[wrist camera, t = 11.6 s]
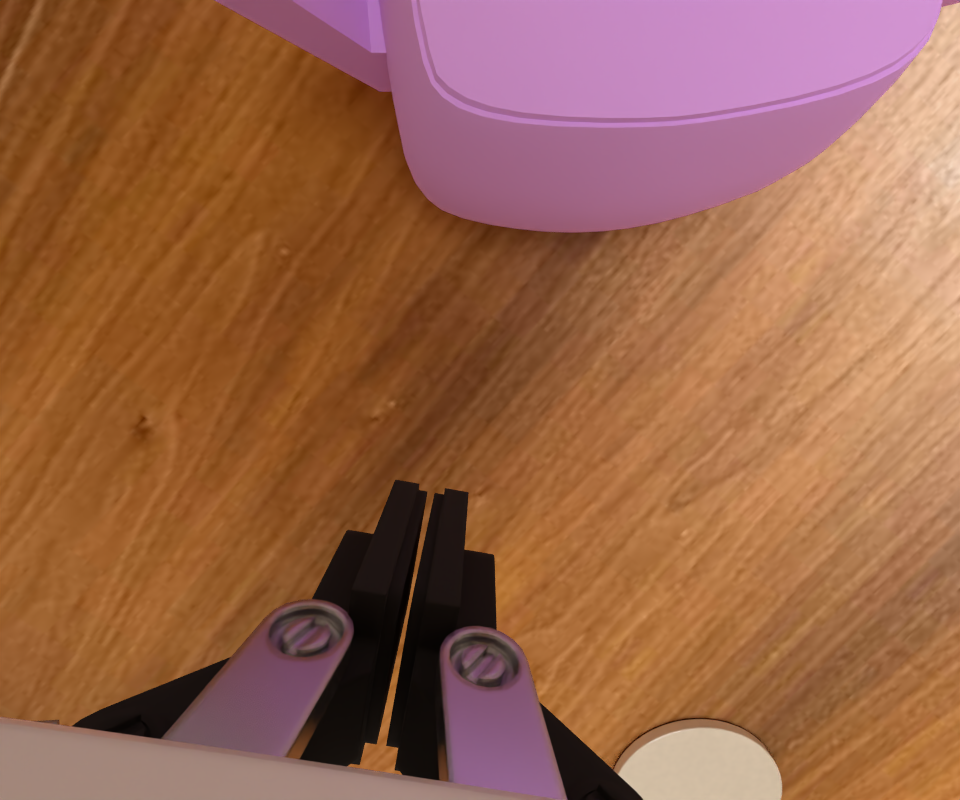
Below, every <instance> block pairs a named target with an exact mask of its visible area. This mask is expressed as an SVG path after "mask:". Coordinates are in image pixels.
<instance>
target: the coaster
mask: <svg viewBox="0 0 960 800" xmlns="http://www.w3.org/2000/svg"><path fill="white" fill-rule="evenodd" d="M614 771H615V772H616V773H617V774H618V775H619V776H620V777H621V778H622V779H623V780H624V781H626V782H627V783H628V784H629V785H630V786H631V787H632V788H633V789H634V790H635V791H636V792H637V793H638V794H639V795H640V796H641V797H642V798H643V800H781V796H782V781H781V775H780V772H779V769H778V767H777V765H776V763H775V761H774V759H773V758H772V756H771V754H770V752H769V751H768V750H767V748H766V747H765V746H764V745H763V743H762V742H760V741H759V740H758V739H757V738H756V737H755V736H753V735H752V734H750V733H749V732H748V731H746V730H744V729H742V728H740V727H738V726H735V725H732V724H730V723H726V722H722V721H718V720H710V719H690V720H681V721H677V722H672V723H669V724H666V725H662V726H660V727H658V728H655V729H653V730H651V731H649V732H648V733H646V734H644V735H642V736H641V737H640V738H638V739H637V740H636V741H634V742H633V743H632V744H631V745H630V746H629V747H628V748H627V749H626V750H625V751H624V753H623V754H622V755H621V756H620V758H619V760H618V761H617V763H616V765H615V768H614Z"/></svg>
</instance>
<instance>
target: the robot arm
mask: <svg viewBox="0 0 960 800" xmlns="http://www.w3.org/2000/svg"><path fill="white" fill-rule="evenodd" d="M426 497H427V492H426V491H420V490H419V484H417V483H411V482H406V481H400V480H395V482H394V485H393V487H392V490H391V492H390V495H389V497H388V500H387V502H386V505H385V507H384V510H383V512H382V515H381V517H380V520H379V522H378V525H377V527H376V530H375V532H374V534H369V533H363V532H357V531H352V530H347V531H346V533H345V535H344V537H343V539H342V541H341V543H340V545H339V547H338V549H337V551H336V553H335V555H334V556H333V558H332V560H331V562H330V564H329V566H328V568H327V570H326V572H325V574H324V576H323V578H322V580H321V582H320V584H319V586H318V588H317V590H316V592H315V594H314V596H313V598H312V599H307V600H298V601H294V602H290V603H286V604H284V605H282V606H280V607H278V608H276V609H274V610H273V611H272V612H271V613H270V614H269V615H268V616H266V617H265V618H264V619H263V621H262V622H261V623H260V624H259V625H258V626H257V628H256V629H255V630H254V631H253V632H252V633H251V635H250V636H249V637H248V638H247V639H246V640H245V642H244V643H243V644H242V645H241V646H240V647H239V649H238V650H237V651H236V652H235V653H234V654H233V656H232V657H230V658H227V659H225V660H222V661H220V662H217V663H215V664H213V665H210V666H208V667H205V668H203V669H200V670H198V671H195V672H193V673H190V674H188V675H185V676H183V677H180V678H178V679H175V680H173V681H170V682H168V683H165V684H163V685H160V686H158V687H156V688H153V689H151V690H148V691H146V692H143V693H141V694H138V695H136V696H133V697H131V698H128V699H126V700H123V701H121V702H118V703H116V704H113V705H111V706H108V707H106V708H104V709H101V710H99V711H97V712H95V713H93V714H91V715H89V716H87V717H85V718H83V719H81V720H80V721H78V722H77V723H76V724H74V725H73V726H64V725H59V720H47V721H28V720H20V719H13V718H4V717H0V800H643V798H642V797H641V796H640V795H639V794H638V793H637V792H636V791H635V790H634V789H633V788H632V787H631V786H630V785H629V784H628V783H627V782H626V781H624V780H623V779H622V778H621V777H620V776H619V775H618V774H617V773H616V772H615V771H614V770H613V769H611V768H610V767H609V766H608V765H607V764H606V763H605V762H604V761H603V760H602V759H601V758H600V757H598V756H597V755H596V754H595V753H594V752H593V751H592V750H591V749H590V748H589V747H588V746H587V745H585V744H584V743H583V742H582V741H581V740H580V739H579V738H578V737H577V736H576V735H575V734H574V733H572V732H571V731H570V730H569V729H568V728H567V727H566V726H565V725H564V724H563V723H562V722H561V721H559V720H558V719H557V718H556V717H555V716H554V715H553V714H552V713H551V712H550V711H549V710H548V709H546V708H545V707H544V706H543V705H542V704H541V703H540V702H539V699H538V695H537V692H536V689H535V685H534V682H533V678H532V675H531V671H530V668H529V664H528V661H527V658H526V656H525V654H524V652H523V650H522V649H521V648H520V646H519V645H518V644H517V643H516V642H515V641H514V640H513V639H511V638H510V637H508V636H507V635H505V634H504V633H502V632H500V631H497V630H496V595H495V561H494V555H493V554H487V553H481V552H475V551H469V550H464V546H465V533H466V519H467V505H468V492H463V491H457V490H452V489H446V488H445V492H444V495H443V494H438V493H435V494H434V499H433V504H432V508H431V513H430V518H429V522H428V527H427V532H426V536H425V541H424V546H423V550H422V555H421V560H420V564H419V569H418V574H417V578H416V583H415V588H414V593H413V598H412V603H411V608H410V613H409V619H408V625H407V630H406V636H405V642H404V648H403V653H402V659H401V665H400V670H399V676H398V682H397V688H396V693H395V699H394V705H393V710H392V716H391V722H390V728H389V733H388V739H387V745H386V746H391V747H397V748H398V754H397V760H396V765H395V770H397V771H400V772H401V773H402V775H399V774H392V773H386V772H379V771H373V770H366V769H360V768H353V767H347V766H348V765H350V764H357V765H360V761H361V757H362V753H363V749H364V745H365V743H371V744H377V740H378V736H379V732H380V727H381V723H382V718H383V714H384V709H385V705H386V700H387V696H388V691H389V687H390V682H391V678H392V673H393V669H394V664H395V660H396V655H397V651H398V646H399V642H400V637H401V633H402V628H403V624H404V619H405V615H406V610H407V606H408V601H409V595H410V590H411V584H412V578H413V572H414V567H415V561H416V555H417V549H418V543H419V538H420V532H421V526H422V520H423V515H424V509H425V503H426Z"/></svg>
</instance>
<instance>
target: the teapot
mask: <svg viewBox="0 0 960 800" xmlns="http://www.w3.org/2000/svg"><path fill="white" fill-rule="evenodd" d="M215 1H216V2H218V3H220V4H222V5H224V6H226V7H227V8H229V9H231V10H233V11H235V12H236V13H238V14H240V15H242V16H244V17H245V18H247V19H249V20H251V21H253V22H255V23H256V24H258V25H260V26H262V27H264V28H265V29H267V30H269V31H271V32H273V33H274V34H276V35H278V36H280V37H282V38H284V39H285V40H287V41H289V42H291V43H293V44H294V45H296V46H298V47H300V48H302V49H303V50H305V51H307V52H309V53H311V54H313V55H314V56H316V57H318V58H320V59H322V60H323V61H325V62H327V63H329V64H331V65H332V66H334V67H336V68H338V69H340V70H342V71H343V72H345V73H347V74H349V75H351V76H352V77H354V78H356V79H358V80H360V81H361V82H363V83H365V84H367V85H369V86H371V87H372V88H374V89H376V90H378V91H380V92H392V96H393V102H394V107H395V112H396V117H397V122H398V127H399V132H400V136H401V141H402V146H403V151H404V155H405V159H406V162H407V164H408V167H409V169H410V171H411V174H412V176H413V178H414V181H415V183H416V184H417V186H418V187H419V189H420V190H421V191H422V192H423V194H424V195H425V196H426V198H427V199H428V200H429V201H431V202H432V203H433V204H434V205H436V206H437V207H438V208H439V209H441V210H443V211H445V212H448V213H450V214H453V215H455V216H458V217H460V218H463V219H468V220H472V221H476V222H480V223H485V224H489V225H495V226H502V227H508V228H515V229H523V230H533V231H543V232H570V233H574V232H599V231H609V230H618V229H627V228H634V227H639V226H644V225H650V224H655V223H660V222H664V221H668V220H671V219H675V218H679V217H683V216H687V215H690V214H693V213H697V212H700V211H703V210H706V209H710V208H713V207H716V206H719V205H721V204H724V203H727V202H729V201H732V200H735V199H738V198H740V197H743V196H746V195H748V194H751V193H754V192H757V191H759V190H761V189H762V188H764V187H766V186H768V185H770V184H772V183H774V182H776V181H777V180H779V179H781V178H783V177H785V176H786V175H788V174H790V173H792V172H793V171H795V170H797V169H798V168H800V167H802V166H803V165H805V164H807V163H808V162H810V161H811V160H812V159H814V158H815V157H816V156H818V155H819V154H820V153H822V152H823V151H824V150H825V149H827V148H828V147H829V146H830V145H831V144H832V143H833V142H835V141H836V140H837V139H838V138H839V137H840V136H841V135H842V134H844V133H845V132H846V131H847V130H848V129H849V128H850V127H851V126H852V125H853V124H855V123H856V122H857V121H858V120H859V119H860V118H861V117H862V116H863V115H864V114H865V113H866V112H867V111H868V110H869V109H870V108H871V107H872V106H873V105H874V103H875V102H876V101H877V100H878V99H879V98H880V97H881V96H882V95H883V94H884V93H885V92H886V91H887V90H888V89H889V88H890V87H891V86H892V85H893V84H894V82H895V81H896V80H897V79H898V78H899V77H900V75H901V74H902V73H903V72H904V71H905V69H906V68H907V67H908V66H909V64H910V63H911V62H912V61H913V59H914V58H915V57H916V56H917V54H918V53H919V52H920V51H921V49H922V48H923V47H924V46H925V44H926V43H927V42H928V40H929V38H930V36H931V34H932V31H933V29H934V26H935V24H936V22H937V19H938V17H939V13H940V9H941V7H943V6H947V5H951V4H955V3H959V2H960V0H215Z"/></svg>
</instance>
